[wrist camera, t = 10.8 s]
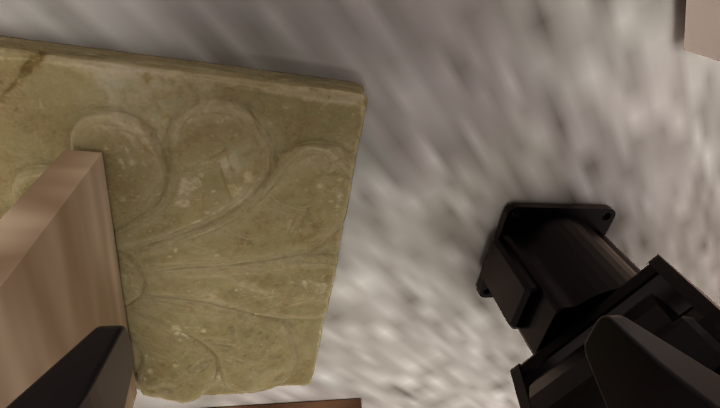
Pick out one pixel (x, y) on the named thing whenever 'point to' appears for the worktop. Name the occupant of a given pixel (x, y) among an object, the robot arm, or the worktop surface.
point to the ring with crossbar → (703, 28)
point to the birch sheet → (57, 271)
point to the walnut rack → (310, 404)
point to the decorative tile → (198, 201)
